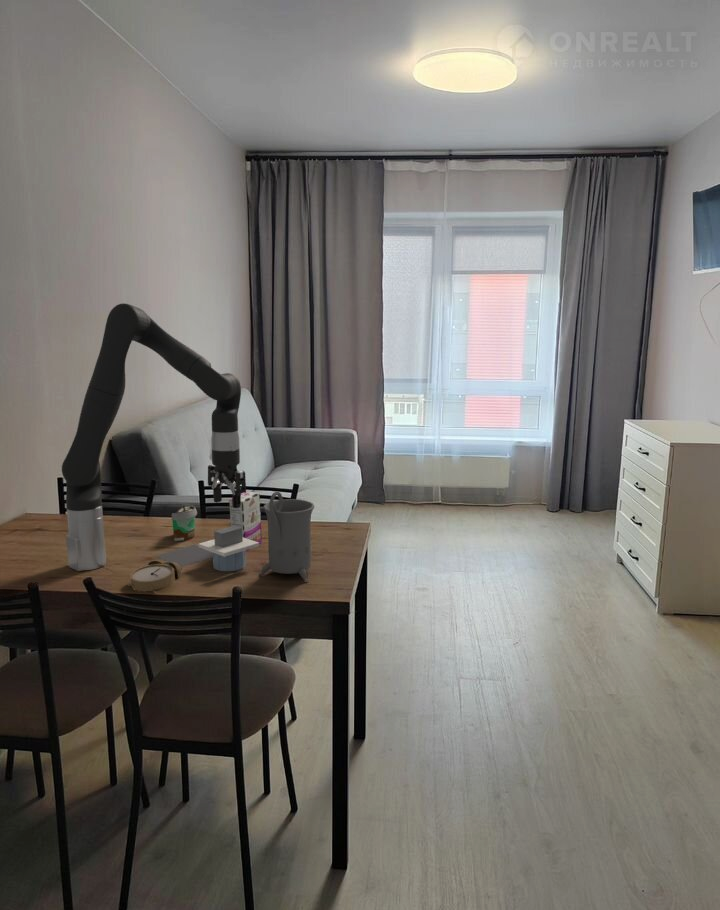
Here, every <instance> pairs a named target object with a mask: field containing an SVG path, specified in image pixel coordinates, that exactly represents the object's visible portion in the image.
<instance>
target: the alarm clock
mask: <svg viewBox="0 0 720 910" xmlns="http://www.w3.org/2000/svg"><path fill="white" fill-rule="evenodd" d="M182 570H183V567H180V566H179V565H178V564H177V563H175V562H167V561H165V562H162V561H160V560H158V559H153V560H151V561H149V563H147V564H146V565H143V566H140V567H138V568H136V569H134V570H133V571H132V572H130V575H129V577H130V583H128V584H127V586H128V587H131V586H132V587H131V589H132V588H133V590H134V589H135V590H134V591H136V590H138V591H137V592H140V591H155V590H156V591H157V590H160V589H164V588H167V587H170V586H173V584H174V583H176V577H175V576H177V579H178V578H180V577H181V575H182ZM156 591H155V592H156Z"/></svg>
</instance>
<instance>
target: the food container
mask: <svg viewBox="0 0 720 910" xmlns="http://www.w3.org/2000/svg"><path fill="white" fill-rule="evenodd" d="M197 515H198V511H197V509H196V506H195V505H193V504H188V503H182V504H181V507H180V508H179V509H177V510H176V512H175V513H174V512H173V513H171V522H172V530H173V542H174V543H175V542H177V543H178V542H186V541H190V540H193V539H194V538H195V531H196V529H195V528H196V527H195V525H196V516H197Z"/></svg>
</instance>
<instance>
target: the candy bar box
mask: <svg viewBox="0 0 720 910" xmlns="http://www.w3.org/2000/svg"><path fill="white" fill-rule="evenodd" d="M228 503H229V504H228V505H229V522H230V527H231V526H237V527H241V528H242V537H243V538H246V539H250V540H253V541H256V542H259V545H261V544H262V543H263V540H262V539H263V537H262V535H263V534H262V520H261V519H262V518H261V515H262V514H261V495H260V492H256V491H246V492H245V493H241V505H240V507H239V508H233V507H232V498H231V499H230V500H228ZM249 550H251V549H248V550H246V553H247V552H248V551H249Z"/></svg>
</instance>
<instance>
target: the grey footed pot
mask: <svg viewBox="0 0 720 910" xmlns="http://www.w3.org/2000/svg"><path fill="white" fill-rule="evenodd" d="M275 497H278V499H277V500H275ZM314 509H315V504H314V503H313V502H311V501H308V500H304V499H296V498H292V499H291V498H290V499H289V498H287V499H284V498H283V495H282V493H281V492H280V491H277V490H276V491H274V492H273V493H272V494H271V495H270V498H269V502H266V503H265V504H264V505H263V510H264V512H265V514H266V517H267V518H266V520H267V537H268V539H267V541H268V562H267V563H265V564H264V565H263V566H262V568H261V571H260V572H259V573H258V575H259V576H263V575H265V574H266V573H267V571H272V572H274V573H277V574H278V573H279V574H286V575H287V574H289V575H290V574H298V575H299V576H301V578H302V580H303V581H304V582H305V581H306V582H307V581H308V582H309V580H308V574H307V571H308V570H309V569H310V568H311V566H312V549H311V546H312V544H311V541H312V540H311V539H312V538H311V537H312V536H311V535H312V534H311V520H312V513H313V510H314ZM306 582H305V583H306ZM308 582H307V583H308Z"/></svg>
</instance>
